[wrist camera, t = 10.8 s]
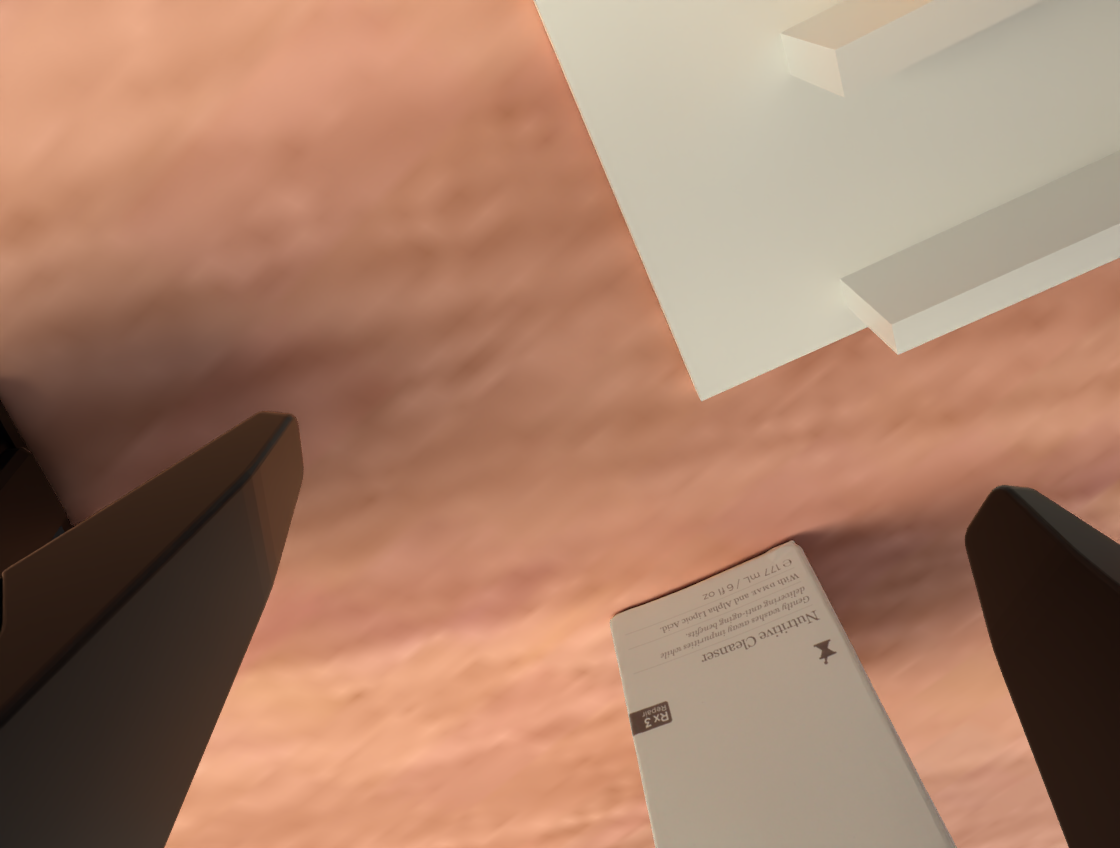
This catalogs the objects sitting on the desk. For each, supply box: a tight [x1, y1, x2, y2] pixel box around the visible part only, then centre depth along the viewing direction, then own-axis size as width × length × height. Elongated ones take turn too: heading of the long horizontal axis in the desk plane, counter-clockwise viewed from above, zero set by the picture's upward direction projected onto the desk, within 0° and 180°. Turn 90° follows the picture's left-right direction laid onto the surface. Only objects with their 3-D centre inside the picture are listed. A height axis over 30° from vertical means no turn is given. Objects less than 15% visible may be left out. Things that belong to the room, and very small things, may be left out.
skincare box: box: [610, 540, 957, 848], centre depth 24 cm, size 8×6×15 cm
